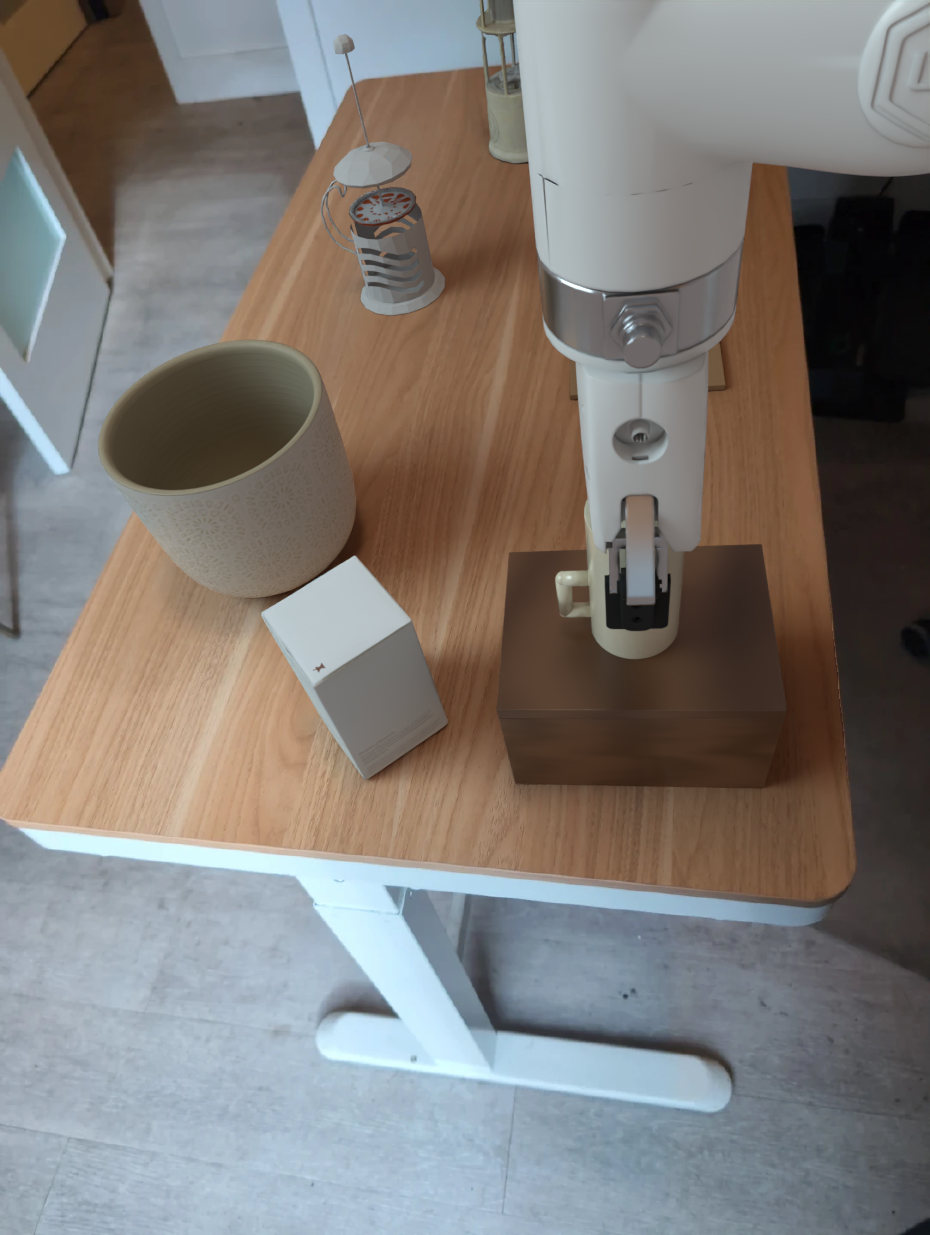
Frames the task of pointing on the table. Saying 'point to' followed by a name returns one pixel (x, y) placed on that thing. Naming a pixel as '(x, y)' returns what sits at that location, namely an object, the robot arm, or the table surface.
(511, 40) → the lamp
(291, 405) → the planter
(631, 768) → the brown lidded box
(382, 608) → the white packaging box
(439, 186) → the table surface
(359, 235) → the french press
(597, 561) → the cream mug
